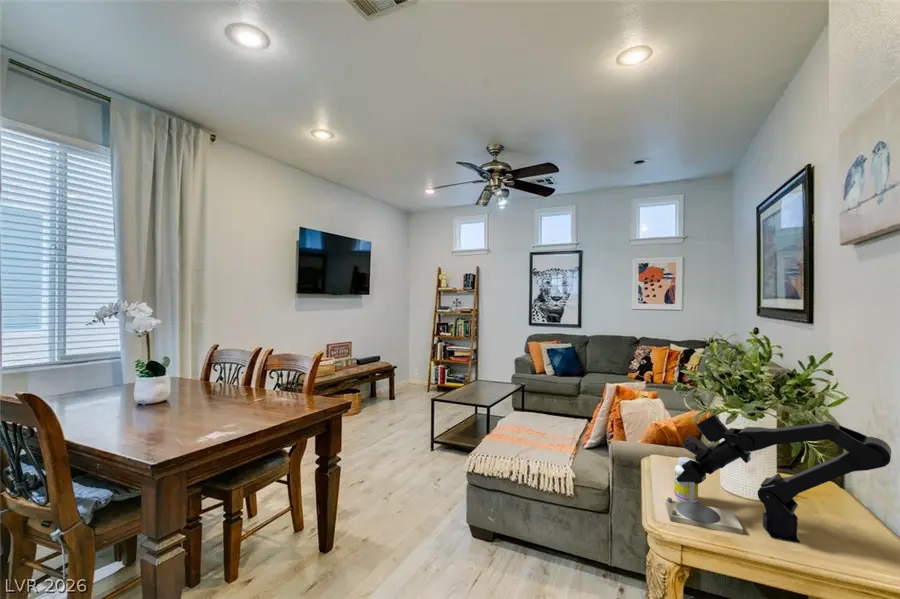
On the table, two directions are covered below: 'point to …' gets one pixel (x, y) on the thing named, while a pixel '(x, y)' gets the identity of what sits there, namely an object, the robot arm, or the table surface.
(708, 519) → the jig board
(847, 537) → the table surface
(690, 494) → the supplement bottle
